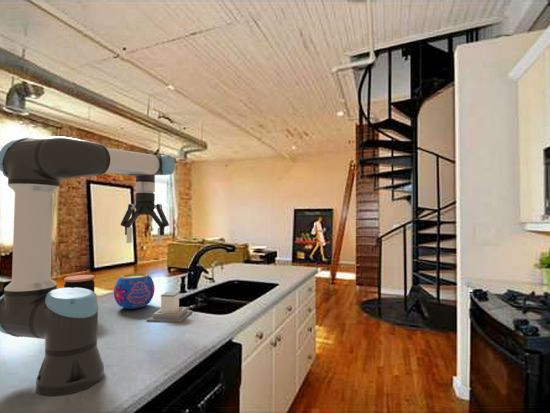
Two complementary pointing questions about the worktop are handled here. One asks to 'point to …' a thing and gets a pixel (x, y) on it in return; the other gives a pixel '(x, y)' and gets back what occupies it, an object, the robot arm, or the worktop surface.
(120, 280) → the ceramic pot
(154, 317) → the socket plate
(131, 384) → the worktop surface
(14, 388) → the worktop surface
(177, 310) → the plug block
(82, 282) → the coffee jar
